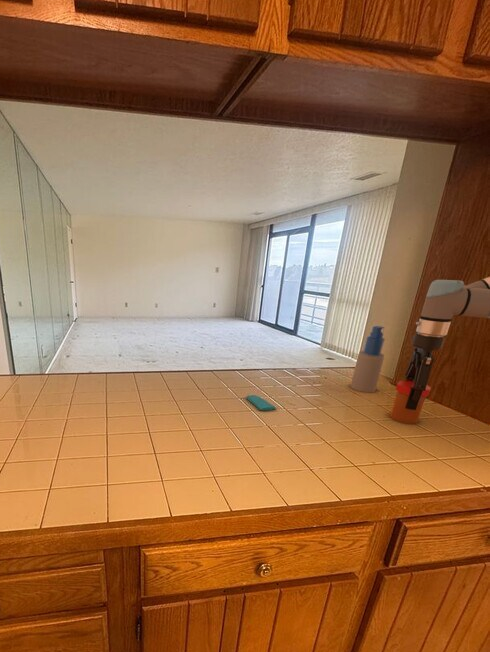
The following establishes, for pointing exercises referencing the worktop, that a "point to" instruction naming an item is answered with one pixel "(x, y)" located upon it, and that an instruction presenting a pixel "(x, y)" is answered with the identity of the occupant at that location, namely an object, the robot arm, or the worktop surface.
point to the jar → (405, 414)
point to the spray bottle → (369, 362)
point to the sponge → (260, 402)
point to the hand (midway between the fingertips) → (407, 403)
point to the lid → (405, 388)
